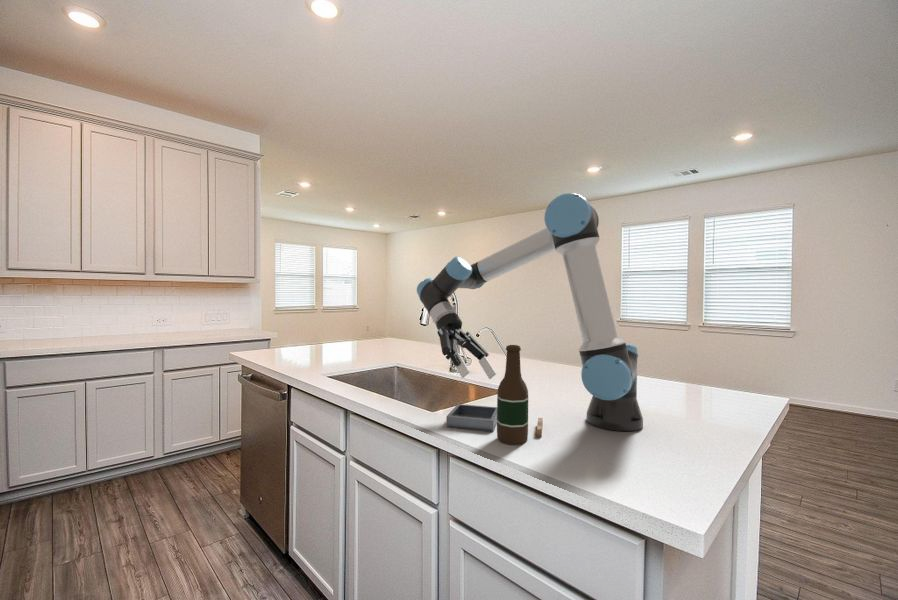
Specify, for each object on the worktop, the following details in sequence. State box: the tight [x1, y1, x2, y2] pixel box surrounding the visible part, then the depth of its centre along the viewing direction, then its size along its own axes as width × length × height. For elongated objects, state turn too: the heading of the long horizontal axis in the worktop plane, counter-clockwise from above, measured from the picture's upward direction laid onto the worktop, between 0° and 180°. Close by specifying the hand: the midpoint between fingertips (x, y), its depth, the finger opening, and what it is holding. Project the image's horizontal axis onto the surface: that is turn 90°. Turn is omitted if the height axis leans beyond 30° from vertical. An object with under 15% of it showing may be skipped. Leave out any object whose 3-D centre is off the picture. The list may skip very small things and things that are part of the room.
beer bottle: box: [496, 344, 529, 446], centre depth 102 cm, size 8×8×24 cm
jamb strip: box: [536, 417, 544, 438], centre depth 109 cm, size 10×1×2 cm, turn 165°
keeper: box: [445, 403, 497, 433], centre depth 116 cm, size 13×13×3 cm
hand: (480, 375), depth 114 cm, fingers open, 13 cm apart
